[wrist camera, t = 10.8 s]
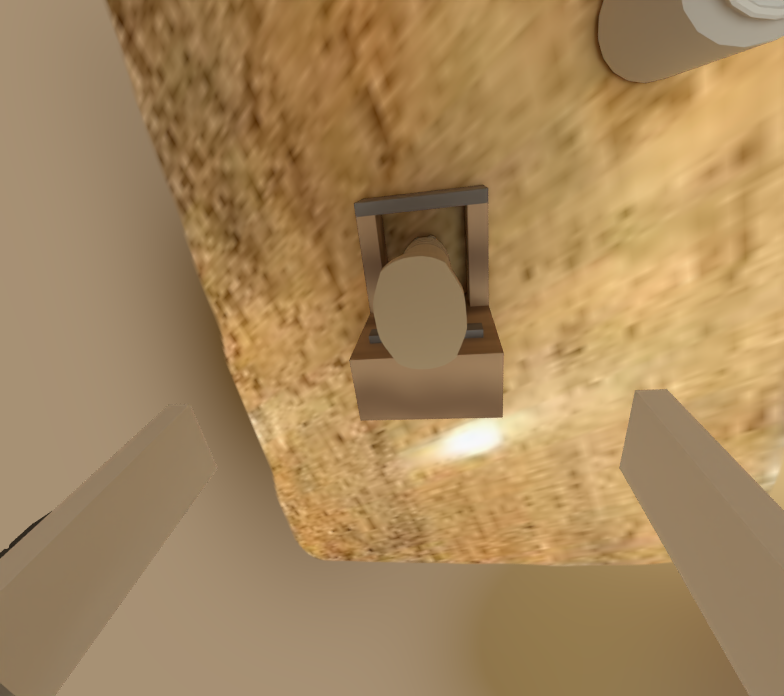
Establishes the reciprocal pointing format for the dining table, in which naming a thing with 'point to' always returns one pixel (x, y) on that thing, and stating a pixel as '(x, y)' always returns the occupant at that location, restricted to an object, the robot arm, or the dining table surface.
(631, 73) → the can
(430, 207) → the wooden stand
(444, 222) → the dining table surface
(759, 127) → the dining table surface
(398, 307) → the handle
